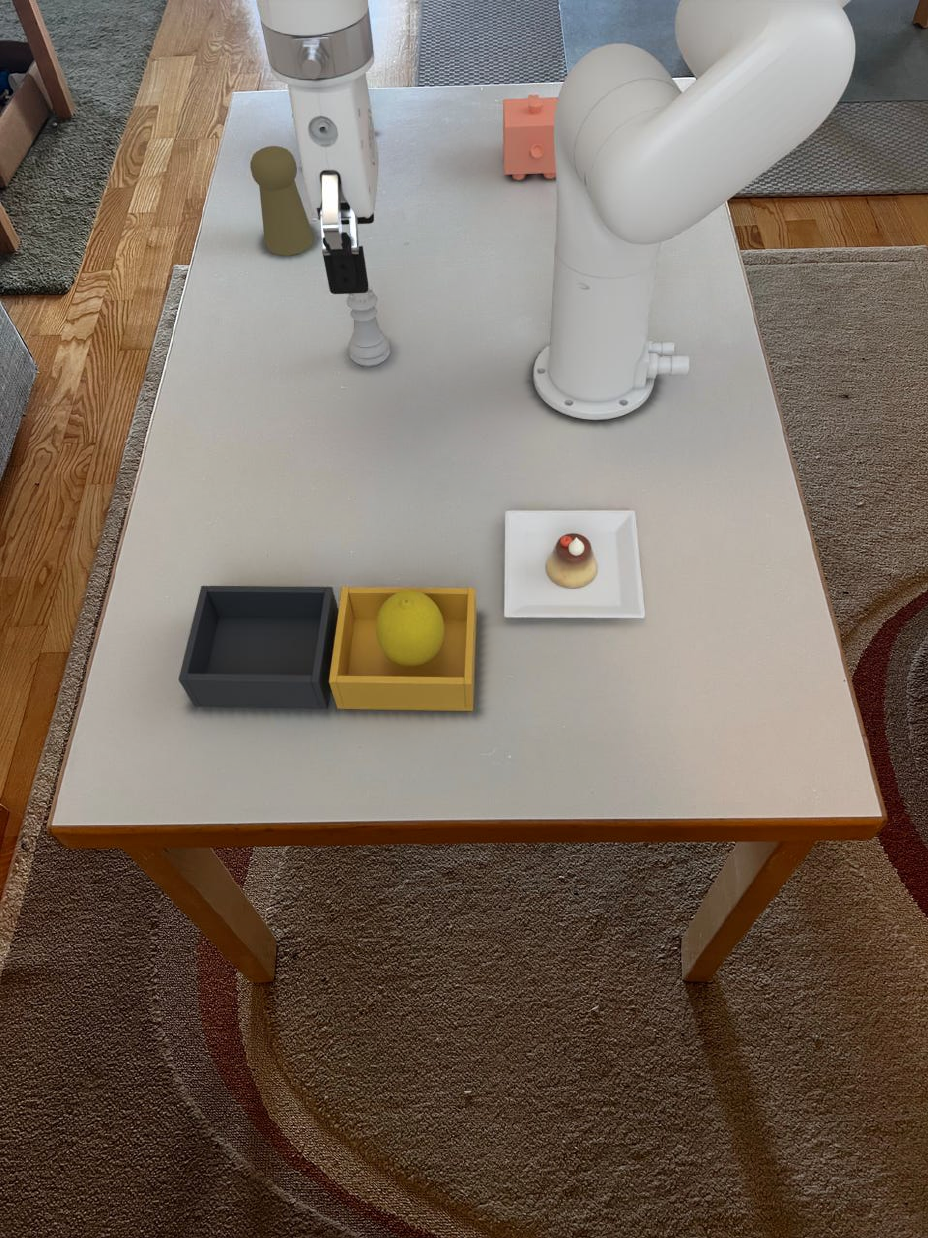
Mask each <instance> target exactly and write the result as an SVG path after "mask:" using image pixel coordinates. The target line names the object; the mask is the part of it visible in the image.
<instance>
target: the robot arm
mask: <svg viewBox="0 0 928 1238" xmlns="http://www.w3.org/2000/svg"><path fill="white" fill-rule="evenodd" d="M851 1H852V0H679V2H678V5H677V9H676V11H675V12H676V13H675V19H674V33H675V40H676V45H677V47H678V49H679V51H680V53H681V56H682V58H683V60H684V62H685V64H686V65H687V67H688V68H689V70H690V71H691V73H692V74H693V76H694V77H695V79H696V80H695V81H693V82H692V83H691V84H690V85H689V86H688V87H687V88H686V89H684V90H683V91H681V90H682V89H680V88H679V86H678V84H677V83H676V81H675V80H674V78H673V77H672V75H670V73H669V72H668V70H667V69H666V68H665V67H664V66H663V64H662V63H661V62H660V61H659V60H658V59H657V58H656V57H654V56H653V55H652V54H650V53H649V52H648V51H646V50H644V49H643V48H640V47H638V46H636V45H633V44H629V43H619V42H618V43H617V42H616V43H609V44H604V45H602V46H599V47H596V48H595V49H593V50H591V51H589V52H587V53H586V54H585V55H583V57H581V58H580V59H579V60H578V61H577V62H576V63H575V65H574V66H573V67H572V69H571V70H570V71H569V72H568V74H567V76H566V77H565V79H564V81H563V83H562V85H561V88H560V90H559V93H558V96H557V97H558V100H557V104H556V109H555V116H554V152H555V167H556V177H555V182H556V184H555V185H556V186H555V187H556V216H555V217H556V219H555V241H554V242H555V244H554V252H553V253H554V254H553V256H554V257H553V273H552V274H553V275H552V291H551V292H552V293H551V313H550V314H551V315H550V329H549V331H550V332H549V344H548V345H546V346H545V347H544V348H543V349H542V350H541V351H540V353H539V354H538V355H537V358H536V359H535V362H534V365H533V375H532V376H533V384H534V388H535V390H536V392H537V394H538V396H539V397H540V398H541V399H542V400H543V401H544V402H545V403H546V404H547V406H550V408H552V409H554V410H555V411H558V412H559V413H561V414H564V415H567V416H570V417H572V418H577V419H582V420H593V421H599V420H600V421H601V420H610V419H614V418H620V417H622V416H624V415H627V414H629V413H630V414H631V412H634V410H635V411H636V409H639V408H640V407H641V406H642V405H643V404H644V403H645V402H646V401H648V399H649V397H650V396H651V394H652V391H653V389H654V386H655V379H656V378H657V376H658V375H669V376H688V375H689V371H690V356H689V355H675V347H676V345H675V342H674V341H673V342H672V341H669V342H667V341H665V342H664V341H661V342H653V341H652V340H650V339H648V336H647V334H648V327H649V322H650V321H649V320H650V314H651V308H652V304H653V303H652V301H653V296H654V289H655V283H656V278H657V277H656V276H657V271H658V265H659V258H660V254H661V248H662V243H663V242H666V241H668V240H670V239H673V238H674V237H676V236H678V235H681V234H683V233H684V232H686V231H687V230H689V229H691V228H692V227H694V226H695V225H697V224H698V223H700V222H701V221H702V220H704V219H705V218H707V217H708V216H709V215H710V214H712V213H713V212H714V211H716V210H717V209H719V208H720V207H721V206H722V205H724V204H725V203H726V202H727V201H729V200H730V199H731V198H733V197H734V196H736V194H738V193H739V192H741V191H742V190H743V189H744V188H746V187H747V186H748V185H750V184H751V183H752V182H754V181H755V180H756V179H757V178H759V177H760V176H761V175H762V174H764V173H765V172H766V171H768V170H769V169H771V168H772V167H773V166H774V165H775V164H777V163H778V162H779V161H781V160H782V159H784V157H786V156H787V155H788V154H790V153H792V152H793V151H794V150H795V149H796V148H797V147H798V146H800V145H801V144H802V143H803V142H805V141H806V140H807V139H808V138H809V137H810V136H811V135H812V134H813V133H815V132H816V131H817V129H819V127H820V126H821V125H822V124H823V122H825V120H826V119H827V118H828V117H829V115H830V114H831V113H832V112H833V110H834V109H835V107H836V106H837V104H838V102H839V101H840V99H841V98H842V96H843V94H844V92H845V90H846V88H847V86H848V83H849V82H850V79H851V76H852V73H853V69H854V65H855V59H856V38H855V33H854V29H853V25H852V23H851V22H850V20H849V17H848V15H847V13H846V12H845V11H844V8H845V6H846V5H847V4H849V3H850V2H851ZM256 6H257V10H258V15H259V18H260V19H259V20H260V26H261V31H262V35H263V41H264V44H265V45H264V46H265V49H266V54H267V60H268V63H269V68H270V72H271V74H272V75H273V76H274V78H275V79H277V80H278V81H280V82H281V83H283V84H286V85H287V88H288V95H289V100H290V107H291V117H292V119H293V120H292V121H293V126H294V133H295V138H296V143H297V144H296V145H297V150H298V155H299V161H300V166H301V173H302V178H303V183H304V187H305V192H306V196H307V201H308V204H309V209H310V212H311V215H312V216H313V217H314V218H315V219H317V220H318V221H320V233H321V247H322V250H321V251H322V257H323V262H324V268H325V273H326V278H327V283H328V289H329V292H330V294H332V295H349V294H354V293H366V292H367V291H368V288H369V287H370V285H369V279H368V272H367V266H366V259H365V252H364V246H363V245H360V243H359V225H369V224H370V225H371V224H373V223H374V222H375V221H374V220H375V209H376V202H377V194H378V193H377V191H378V179H379V166H380V165H379V163H380V162H379V149H378V143H377V136H376V131H375V124H374V117H373V111H372V105H371V98H370V91H369V85H368V79H367V74H366V73H368V71H369V70H370V69H371V68H372V67H373V65H374V63H375V52H374V42H373V33H372V32H373V31H372V24H371V23H372V22H371V15H370V6H369V0H256ZM345 225H348V228H349V234H348V232H347V231H345V232H344V230H343V229H344V228H343V226H345Z"/></svg>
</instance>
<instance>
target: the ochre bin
mask: <svg viewBox="0 0 928 1238" xmlns="http://www.w3.org/2000/svg"><path fill="white" fill-rule="evenodd" d="M407 590H411V591H417V592H420V593H423V594H425V595H426V596H428V597H429V598H430V599H431V600H432V601H433V602H434V603H435V604H436V605H437V607H438V609H439V611H440V613H441V615H442V617H443V622H444V627H445V632H444V640H443V643H442V646H441V648H440V651H439V652H438V653H437V654H436V656H435V657H434V658H433V659H431V660H430V661H429V662H427V663H425V664H423V665H420V666H416V667H407V666H402V665H399V664H397V663H395V662H393V661H392V660H390V659H389V658H388V657H387V656H386V655H385V653H384V652H383V650H382V649H381V647H380V645H379V642H378V639H377V635H376V621H377V616H378V613H379V610H380V608H381V606H382V605H383V603H384V602H385V601H386V600H387V599H388V598H389V597H390V596H392V595H394V594H395V593H398V592H401V591H407ZM476 598H477V597H476V588H475V587H399V586H397V587H396V586H395V587H390V586H389V587H387V586H386V587H385V586H383V587H381V586H342V587H341V591H340V599H339V606H338V611H339V612H338V619H337V626H336V634H335V641H334V648H333V655H332V663H331V670H330V677H329V683H330V687H331V688H330V691H331V692H332V696H333V700H334V702H335V705H336V708H337V709H338V710H380V711H381V710H383V711H384V710H385V711H387V710H389V711H391V710H392V711H445V712H446V711H447V712H448V711H450V712H453V711H454V712H474V701H475V699H474V697H475V673H476V672H475V671H476V670H475V669H476V645H477V643H476V641H477V601H476Z"/></svg>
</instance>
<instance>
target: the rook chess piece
mask: <svg viewBox="0 0 928 1238" xmlns="http://www.w3.org/2000/svg"><path fill="white" fill-rule="evenodd" d="M378 301H379V298H378V296H377V294H376V293H375V292H374V289H373V288H372V287H371V286H368V291H367V292H366V293H354V294H348V296H347V298H346V300H345V303H346V305H347V307H348V308H349V309H351V311H350V317H351V318H352V319H353V333H352V335H351V338H350V340H349V343H348V348H349V356H350V359H351V360H352V361H353V362H354V363H356V364H357V365H359V366H361V367H367V368H371V367H372V368H373V367H377V366H379V365H380V364H383V363H384V362H385V361H387V359H388V358H389V356H390V354H391V348H390V342H389V339H388V337H387V336H386V335H385V334H384V332H383V331H382V330H381V329H380V326H379V322H378V319H377V315H378V309H377V307H376V305H377V304H378Z"/></svg>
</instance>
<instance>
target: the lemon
mask: <svg viewBox="0 0 928 1238" xmlns="http://www.w3.org/2000/svg"><path fill="white" fill-rule="evenodd" d="M444 632H445V627H444V622H443V617H442V615H441V613H440V611H439V609H438V607H437V605H436V604H435V603H434V602H433V601H432V600H431V599H430V598H429V597H428V596H426V595H425V594H423V593H420V592H417V591H411V590H407V591H401V592H398V593H395V594H394V595H392V596H390V597H389V598H388V599H387V600H386V601H385V602H384V603H383V605H382V606H381V608H380V610H379V613H378V616H377V621H376V635H377V639H378V642H379V645H380V647H381V649H382V650H383V652H384V653H385V655H386V656H387V657H388V658H389V659H390V660H392V661H393V662H395V663H397V664H399V665H402V666H407V667H416V666H420V665H423V664H425V663H427V662H429V661H430V660H431V659H433V658H434V657H435V656H436V654H437V653H438V652H439V651H440V648H441V646H442V643H443V640H444Z"/></svg>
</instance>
